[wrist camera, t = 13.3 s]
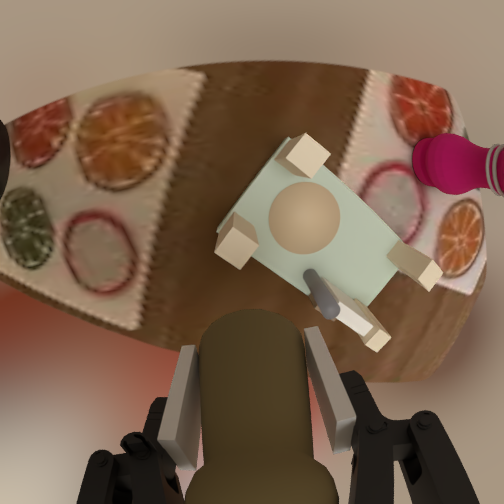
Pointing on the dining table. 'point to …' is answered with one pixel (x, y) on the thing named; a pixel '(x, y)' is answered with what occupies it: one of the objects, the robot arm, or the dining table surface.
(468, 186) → the pepper mill
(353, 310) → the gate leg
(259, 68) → the dining table surface
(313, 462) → the pepper shaker
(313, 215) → the stand
